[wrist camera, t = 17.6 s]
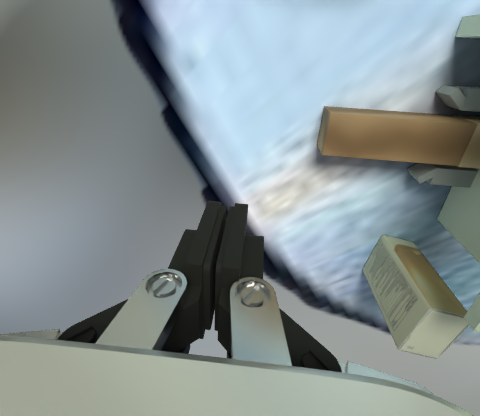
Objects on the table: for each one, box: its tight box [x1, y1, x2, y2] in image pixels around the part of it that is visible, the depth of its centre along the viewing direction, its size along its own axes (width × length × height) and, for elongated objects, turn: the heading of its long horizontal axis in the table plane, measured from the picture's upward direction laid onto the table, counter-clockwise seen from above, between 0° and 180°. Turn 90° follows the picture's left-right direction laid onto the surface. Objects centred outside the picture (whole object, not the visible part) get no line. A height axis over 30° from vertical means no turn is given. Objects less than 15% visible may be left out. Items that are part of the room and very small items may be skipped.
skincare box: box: [363, 235, 469, 359], centre depth 32 cm, size 6×4×12 cm
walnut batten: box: [317, 106, 480, 168], centre depth 28 cm, size 4×15×4 cm, turn 87°
